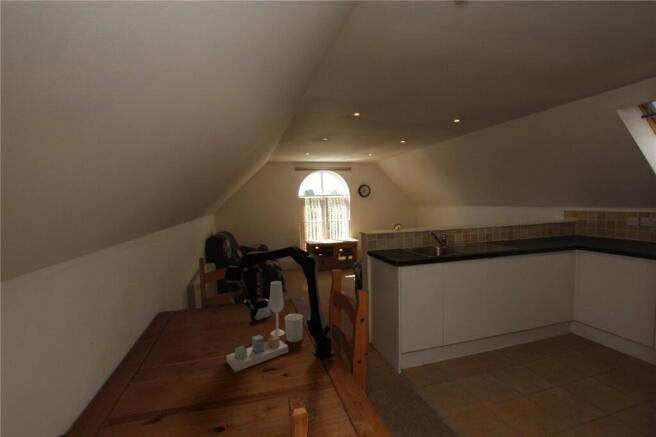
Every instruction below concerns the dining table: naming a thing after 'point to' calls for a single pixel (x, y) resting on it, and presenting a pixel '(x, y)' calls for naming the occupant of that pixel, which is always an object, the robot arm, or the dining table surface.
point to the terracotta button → (273, 341)
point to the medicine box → (263, 312)
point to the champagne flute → (276, 304)
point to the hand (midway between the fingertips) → (252, 319)
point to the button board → (256, 356)
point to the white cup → (293, 327)
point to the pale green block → (240, 353)
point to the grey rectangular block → (257, 343)
